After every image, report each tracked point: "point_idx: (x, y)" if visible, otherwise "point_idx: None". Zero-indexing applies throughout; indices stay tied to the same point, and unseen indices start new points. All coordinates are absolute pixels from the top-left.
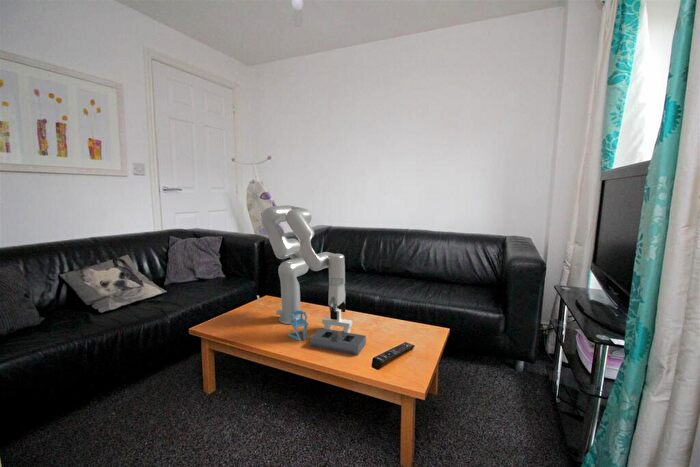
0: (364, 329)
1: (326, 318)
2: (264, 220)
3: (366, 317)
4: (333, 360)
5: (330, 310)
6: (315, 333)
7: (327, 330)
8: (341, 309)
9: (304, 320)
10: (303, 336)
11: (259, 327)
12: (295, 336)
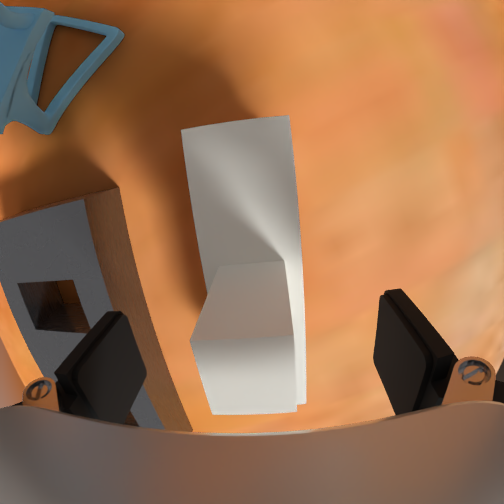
0: (352, 382)
1: (233, 157)
2: None
3: (500, 314)
4: (28, 356)
5: (33, 393)
6: (18, 223)
7: (86, 277)
8: (386, 345)
9: (20, 55)
10: (46, 109)
11: None
12: (33, 73)
